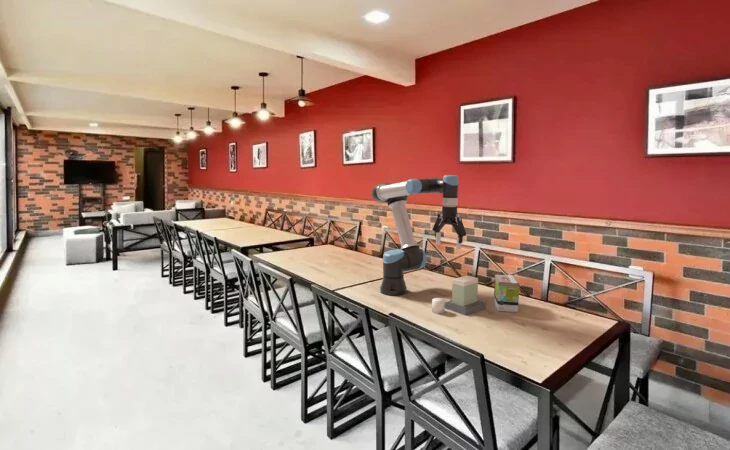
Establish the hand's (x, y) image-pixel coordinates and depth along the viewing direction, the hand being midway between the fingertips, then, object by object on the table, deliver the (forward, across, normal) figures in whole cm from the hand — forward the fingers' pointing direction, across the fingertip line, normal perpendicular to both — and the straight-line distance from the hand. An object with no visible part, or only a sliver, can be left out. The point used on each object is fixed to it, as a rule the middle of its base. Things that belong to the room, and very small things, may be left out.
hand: (448, 247), depth 204 cm
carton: (+26, +13, -1) cm, 29 cm away
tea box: (+29, +25, +16) cm, 41 cm away
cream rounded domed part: (+29, +8, -15) cm, 33 cm away
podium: (+29, +13, -1) cm, 31 cm away
